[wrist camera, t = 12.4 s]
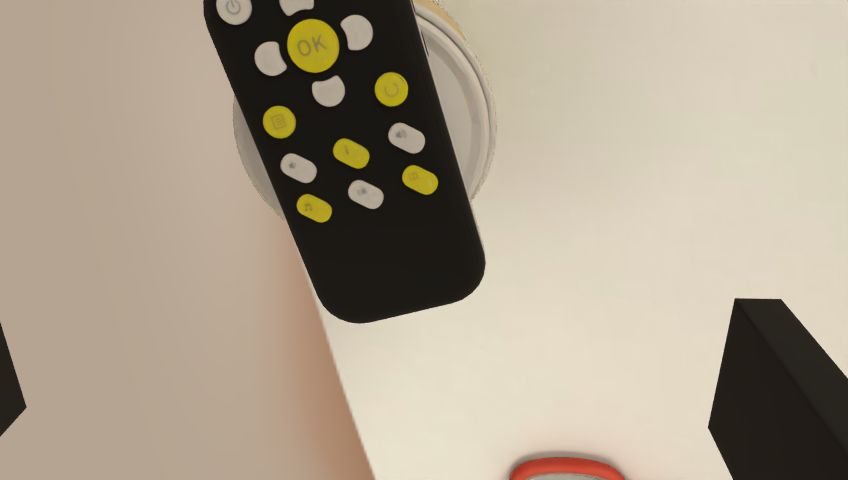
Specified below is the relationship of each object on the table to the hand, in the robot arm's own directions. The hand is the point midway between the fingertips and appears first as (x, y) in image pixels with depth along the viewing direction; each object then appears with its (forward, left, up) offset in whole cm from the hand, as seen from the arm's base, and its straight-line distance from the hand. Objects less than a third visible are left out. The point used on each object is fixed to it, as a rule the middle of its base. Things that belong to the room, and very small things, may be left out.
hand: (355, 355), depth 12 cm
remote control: (0, -2, -13) cm, 13 cm away
